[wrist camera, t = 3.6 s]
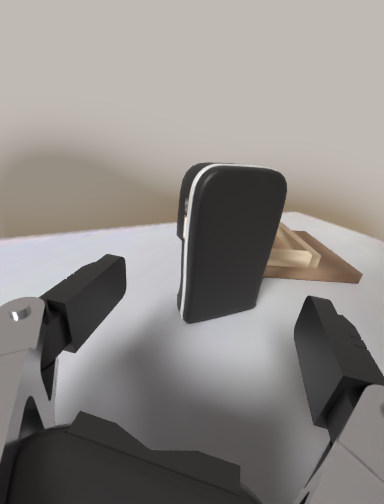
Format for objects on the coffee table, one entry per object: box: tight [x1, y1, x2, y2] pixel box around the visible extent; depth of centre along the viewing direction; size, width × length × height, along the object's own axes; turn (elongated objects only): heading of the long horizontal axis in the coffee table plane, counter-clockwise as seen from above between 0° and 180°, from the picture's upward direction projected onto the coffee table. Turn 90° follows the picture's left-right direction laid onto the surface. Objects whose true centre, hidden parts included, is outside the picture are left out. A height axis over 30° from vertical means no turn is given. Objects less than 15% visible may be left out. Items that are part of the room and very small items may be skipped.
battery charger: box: [177, 163, 287, 323], centre depth 17 cm, size 7×4×11 cm, turn 114°
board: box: [263, 222, 363, 283], centre depth 30 cm, size 16×13×3 cm
